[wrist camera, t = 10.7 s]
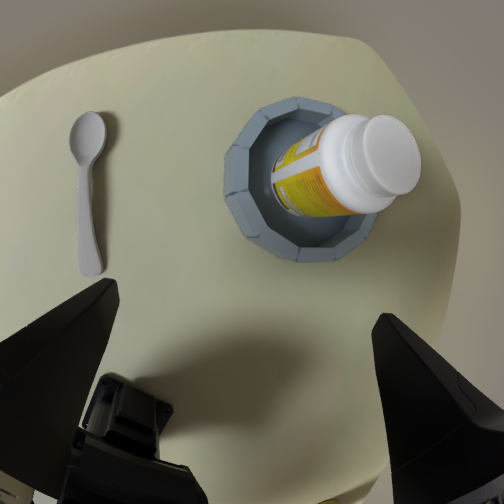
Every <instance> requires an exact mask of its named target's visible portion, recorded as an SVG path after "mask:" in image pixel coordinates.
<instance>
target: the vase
mask: <svg viewBox="0 0 504 504" xmlns="http://www.w3.org/2000/svg"><path fill="white" fill-rule="evenodd" d="M320 504H340V503H339V502H338V501H337V500H329V501H325V502H322V503H320Z"/></svg>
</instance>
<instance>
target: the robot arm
mask: <svg viewBox="0 0 504 504" xmlns="http://www.w3.org/2000/svg"><path fill="white" fill-rule="evenodd" d="M119 302H120V299H119V293H118V286H117V282H116V280H114V279H110V278H103V279H101V280H100V281H98V282H96V283H94V284H93V285H91V286H89V287H88V288H86V289H84V290H83V291H81V292H79V293H78V294H76V295H74V296H73V297H71V298H70V299H68V300H66V301H65V302H63V303H61V304H60V305H58V306H57V307H55V308H53V309H52V310H50V311H49V312H47V313H46V314H44V315H42V316H41V317H39V318H38V319H36V320H35V321H33V322H32V323H30V324H28V325H27V326H25V327H24V328H22V329H21V330H19V331H18V332H16V333H15V334H13V335H11V336H10V337H8V338H7V339H5V340H3V341H2V342H0V504H34V502H33V500H32V498H33V495H34V491H35V490H37V491H39V492H41V493H43V494H45V495H48V496H50V497H52V498H54V499H57V504H208V499H207V496H206V494H205V493H204V491H203V490H202V488H201V487H200V485H199V484H198V482H197V480H196V479H195V477H194V476H193V474H192V472H191V471H190V469H189V467H188V466H185V465H176V464H173V463H169V462H166V461H163V460H160V451H159V436H160V434H161V432H162V431H163V429H164V427H165V426H166V424H167V422H168V421H169V419H170V417H171V416H172V414H173V407H172V405H170V404H168V403H165V402H163V401H160V400H158V399H156V398H155V397H154V396H151V395H149V394H147V393H145V392H142V391H140V390H138V389H136V388H134V387H131V386H129V385H125V384H123V383H121V382H119V381H117V380H115V379H113V378H111V377H109V376H106V375H103V376H101V377H100V379H99V382H98V384H97V386H96V389H95V391H94V394H93V396H92V399H91V401H90V404H89V406H88V409H87V411H86V414H85V416H84V419H83V422H82V427H83V428H84V429H85V430H84V429H82V428H80V427H78V425H79V422H80V419H81V416H82V413H83V410H84V407H85V404H86V401H87V398H88V395H89V392H90V389H91V386H92V383H93V381H94V378H95V375H96V373H97V370H98V367H99V365H100V362H101V359H102V357H103V354H104V352H105V349H106V347H107V344H108V341H109V338H110V334H111V330H112V327H113V324H114V320H115V317H116V313H117V310H118V307H119ZM371 335H372V344H373V353H374V362H375V370H376V376H377V381H378V387H379V392H380V397H381V403H382V408H383V414H384V420H385V427H386V434H387V441H388V448H389V456H390V464H391V472H392V473H391V476H392V485H393V500H394V504H504V410H503V409H501V408H500V407H499V406H497V405H496V404H495V403H494V402H493V401H491V400H490V399H489V398H488V397H487V396H485V395H484V394H483V393H482V392H481V391H479V390H478V389H477V388H476V387H475V386H473V385H472V384H471V383H470V382H469V381H468V380H467V379H466V378H464V377H463V376H462V375H461V374H460V373H459V372H458V371H457V370H456V369H455V368H454V367H452V366H451V365H450V364H449V363H448V362H447V361H446V360H445V359H444V358H443V357H442V356H441V355H439V354H438V353H437V352H436V351H435V350H434V349H433V348H432V347H430V346H429V345H428V344H427V343H426V342H425V341H424V340H423V339H421V338H420V337H419V336H418V335H417V334H416V333H415V332H413V331H412V330H411V329H410V328H409V327H408V326H407V325H405V324H404V323H403V322H402V321H401V320H400V319H398V318H397V317H396V316H395V315H394V314H392V313H382V314H381V315H380V316H379V318H378V320H377V322H376V324H375V325H374V327H373V329H372V334H371ZM103 380H106V381H107V382H108V383H104V382H103ZM165 409H170V410H169V411H166V410H165ZM86 424H88V426H87V425H86Z"/></svg>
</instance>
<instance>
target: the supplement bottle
mask: <svg viewBox="0 0 504 504" xmlns="http://www.w3.org/2000/svg"><path fill="white" fill-rule="evenodd" d="M420 173H421V158H420V152H419V149H418V146H417V143H416V141H415V139H414V137H413V135H412V134H411V132H410V131H409V129H408V128H407V127H406V126H405V125H404V124H403V123H402V122H400V121H399V120H398V119H396V118H394V117H392V116H388V115H379V116H375V117H373V118H371V119H370V118H368V117H366V116H363V115H357V114H349V115H344V116H341V117H339V118H337V119H335V120H333V121H331V122H330V123H328V124H326V125H324V126H323V127H321V128H320V129H318V130H316V131H315V132H313V133H312V134H310V135H308V136H307V137H305V138H304V139H302V140H300V141H299V142H297V143H296V144H294V145H293V146H291V147H290V148H288V149H286V150H285V151H284V152H282V153H281V154H280V155H279V156H278V158H277V159H276V161H275V163H274V165H273V168H272V172H271V186H272V190H273V193H274V195H275V197H276V199H277V201H278V202H279V203H280V205H281V206H282V207H283V208H284V209H285V210H286V211H288V212H289V213H291V214H293V215H295V216H298V217H303V218H316V217H329V216H342V215H356V214H370V213H376V212H379V211H381V210H383V209H385V208H386V207H388V206H389V205H390V204H391V203H392V202H393V201H394V199H395V198H396V196H397V195H403V194H406V193H408V192H410V191H411V190H412V189H413V188H414V187H415V186H416V184H417V182H418V180H419V177H420Z"/></svg>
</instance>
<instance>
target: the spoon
mask: <svg viewBox="0 0 504 504" xmlns="http://www.w3.org/2000/svg"><path fill="white" fill-rule="evenodd" d="M106 138H107V129H106V124H105V121H104V119H103V118H102V117H101V115H99V114H98V113H96V112H86V113H84V114H82V115H81V116H79V117H78V118H77V120H76V121H75V122H74V124H73V126H72V128H71V131H70V136H69V146H70V151H71V153H72V155H73V157H74V159H75V160H76V162H77V165H78V182H77V203H76V213H77V234H78V267H79V271H80V273H81V274H82V275H84V276H96V275H99V274H101V273H102V272H103V263H102V259H101V255H100V251H99V248H98V244H97V240H96V235H95V230H94V224H93V216H92V201H91V174H92V168H93V164H94V162H95V161H96V159H97V158H98V157H99V156H100V154H101V153H102V151H103V149H104V146H105V143H106Z"/></svg>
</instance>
